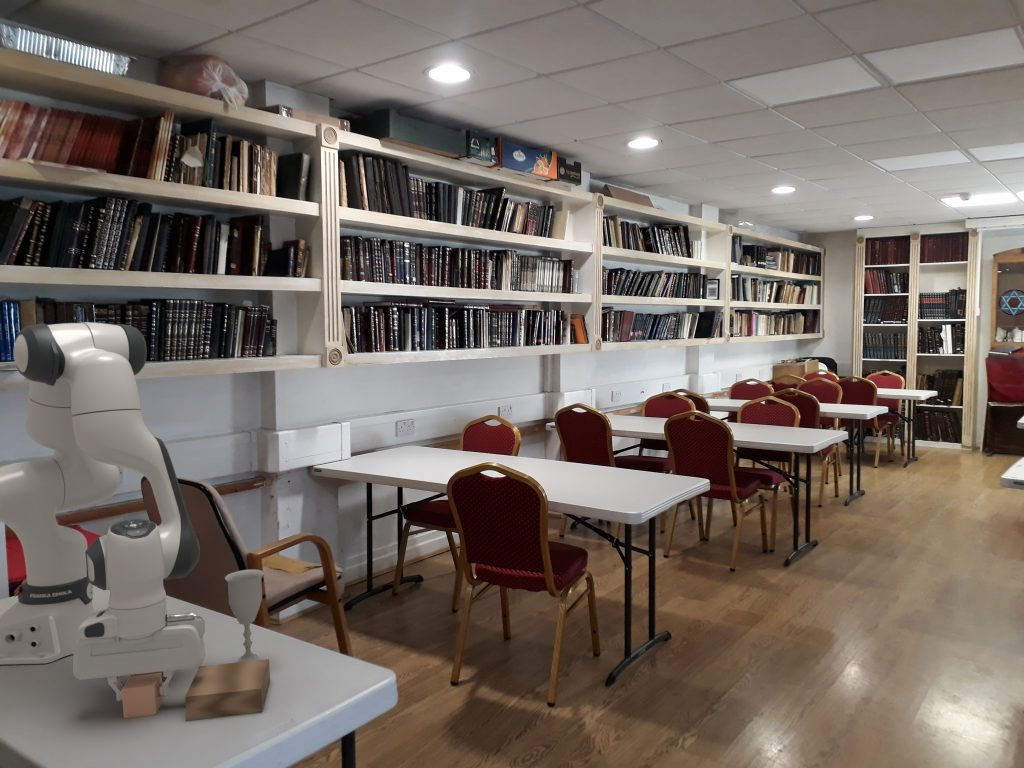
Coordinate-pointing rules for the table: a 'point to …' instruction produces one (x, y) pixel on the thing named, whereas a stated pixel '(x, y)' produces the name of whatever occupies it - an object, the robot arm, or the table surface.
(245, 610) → the chalice
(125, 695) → the block
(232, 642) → the table surface
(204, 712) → the board
